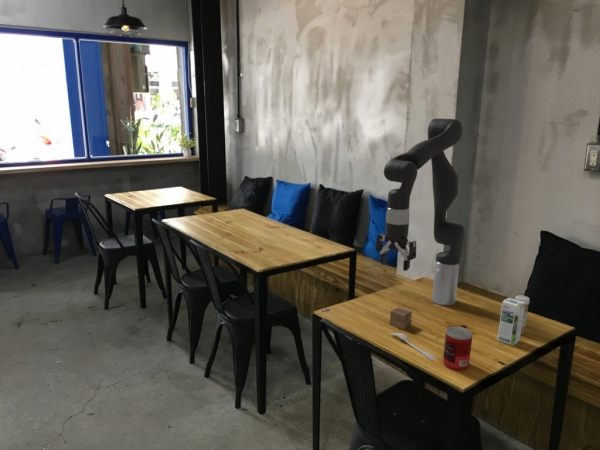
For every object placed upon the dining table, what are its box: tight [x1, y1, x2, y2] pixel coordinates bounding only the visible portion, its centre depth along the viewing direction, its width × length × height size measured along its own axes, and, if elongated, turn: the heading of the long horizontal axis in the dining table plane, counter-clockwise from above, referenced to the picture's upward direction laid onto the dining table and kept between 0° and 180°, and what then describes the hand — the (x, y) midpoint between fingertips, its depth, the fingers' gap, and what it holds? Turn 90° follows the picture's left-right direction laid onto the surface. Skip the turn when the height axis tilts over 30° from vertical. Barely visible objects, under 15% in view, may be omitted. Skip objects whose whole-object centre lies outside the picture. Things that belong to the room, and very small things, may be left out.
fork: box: [388, 332, 437, 361], centre depth 158 cm, size 3×21×3 cm, turn 32°
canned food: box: [442, 325, 473, 371], centre depth 146 cm, size 8×8×11 cm
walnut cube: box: [389, 306, 413, 330], centre depth 173 cm, size 6×6×6 cm
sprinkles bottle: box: [514, 294, 531, 335], centre depth 168 cm, size 5×5×14 cm
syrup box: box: [497, 297, 525, 347], centre depth 161 cm, size 6×6×14 cm
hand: (394, 267), depth 161 cm, fingers open, 8 cm apart
